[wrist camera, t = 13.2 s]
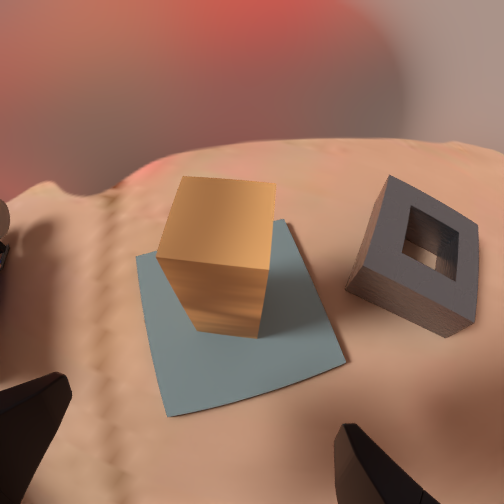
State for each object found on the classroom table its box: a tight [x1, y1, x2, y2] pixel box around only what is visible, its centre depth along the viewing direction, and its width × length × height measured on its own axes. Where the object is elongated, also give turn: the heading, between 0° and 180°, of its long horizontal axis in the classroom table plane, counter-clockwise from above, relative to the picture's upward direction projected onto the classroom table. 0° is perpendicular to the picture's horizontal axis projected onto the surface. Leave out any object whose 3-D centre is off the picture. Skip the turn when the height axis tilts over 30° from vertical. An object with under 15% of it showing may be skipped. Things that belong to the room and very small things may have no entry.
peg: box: [156, 176, 276, 339], centre depth 13 cm, size 4×4×9 cm
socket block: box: [345, 175, 479, 338], centre depth 18 cm, size 9×9×4 cm
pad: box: [136, 219, 346, 417], centre depth 18 cm, size 11×11×1 cm
